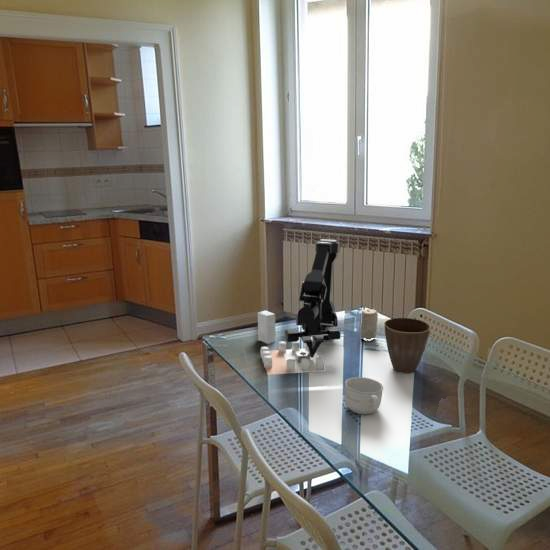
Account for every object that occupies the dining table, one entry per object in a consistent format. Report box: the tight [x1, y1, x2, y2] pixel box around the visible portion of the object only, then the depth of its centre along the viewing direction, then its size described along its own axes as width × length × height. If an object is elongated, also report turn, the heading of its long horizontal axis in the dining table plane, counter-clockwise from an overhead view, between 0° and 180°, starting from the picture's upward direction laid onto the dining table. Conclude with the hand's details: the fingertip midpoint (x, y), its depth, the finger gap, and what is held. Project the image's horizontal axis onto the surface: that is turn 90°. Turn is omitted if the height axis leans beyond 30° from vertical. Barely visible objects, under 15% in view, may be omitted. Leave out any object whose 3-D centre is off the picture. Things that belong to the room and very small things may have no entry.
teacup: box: [344, 376, 384, 415], centre depth 146 cm, size 14×11×8 cm
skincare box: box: [257, 309, 277, 345], centre depth 196 cm, size 6×4×12 cm
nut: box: [295, 351, 310, 363], centre depth 179 cm, size 4×4×2 cm
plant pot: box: [383, 317, 431, 374], centre depth 174 cm, size 15×15×16 cm
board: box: [259, 340, 328, 376], centre depth 179 cm, size 20×20×4 cm
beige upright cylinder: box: [359, 308, 379, 339], centre depth 201 cm, size 6×8×12 cm
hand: (311, 357), depth 180 cm, fingers closed
